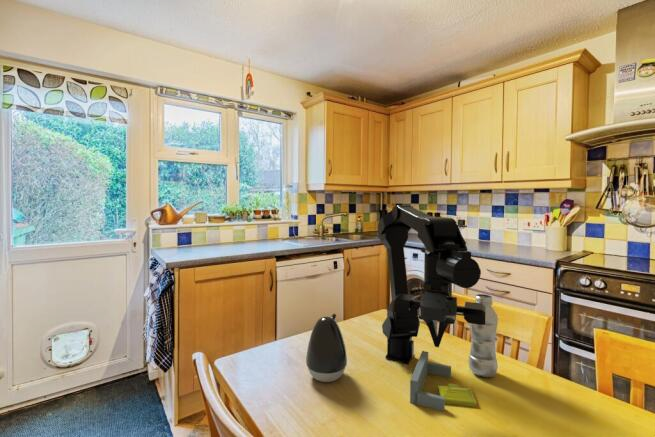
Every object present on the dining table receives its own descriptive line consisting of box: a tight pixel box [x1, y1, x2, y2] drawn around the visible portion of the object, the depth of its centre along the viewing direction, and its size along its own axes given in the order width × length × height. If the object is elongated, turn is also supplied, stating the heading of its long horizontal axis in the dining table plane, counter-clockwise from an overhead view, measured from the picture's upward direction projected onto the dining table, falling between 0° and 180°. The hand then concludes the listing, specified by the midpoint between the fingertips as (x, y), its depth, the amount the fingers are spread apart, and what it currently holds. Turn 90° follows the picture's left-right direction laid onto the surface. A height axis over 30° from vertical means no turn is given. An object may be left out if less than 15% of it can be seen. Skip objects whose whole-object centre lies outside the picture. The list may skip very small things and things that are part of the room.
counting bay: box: [409, 350, 452, 412], centre depth 75 cm, size 7×15×5 cm, turn 154°
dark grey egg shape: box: [305, 313, 348, 383], centre depth 80 cm, size 10×10×15 cm
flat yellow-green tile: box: [437, 382, 478, 408], centre depth 72 cm, size 10×9×3 cm
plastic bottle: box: [467, 293, 499, 378], centre depth 81 cm, size 6×7×20 cm
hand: (437, 346), depth 70 cm, fingers closed
